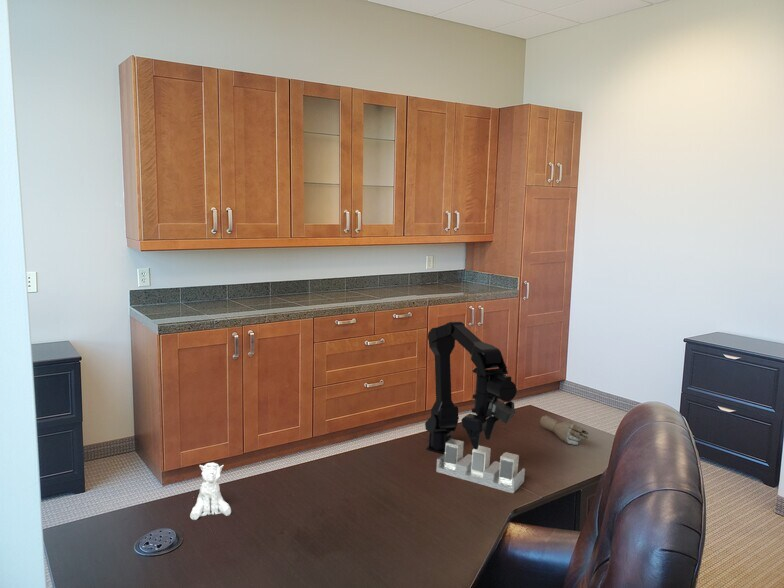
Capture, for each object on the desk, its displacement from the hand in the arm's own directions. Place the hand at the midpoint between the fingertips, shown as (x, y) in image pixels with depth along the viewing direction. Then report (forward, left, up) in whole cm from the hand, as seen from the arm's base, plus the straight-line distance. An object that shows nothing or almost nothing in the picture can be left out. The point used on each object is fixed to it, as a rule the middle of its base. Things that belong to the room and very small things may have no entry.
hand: (481, 444), depth 175 cm
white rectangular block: (0, 0, -9) cm, 9 cm away
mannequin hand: (+12, +47, -10) cm, 49 cm away
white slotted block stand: (0, 0, -10) cm, 10 cm away
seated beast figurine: (-47, -59, -10) cm, 76 cm away
